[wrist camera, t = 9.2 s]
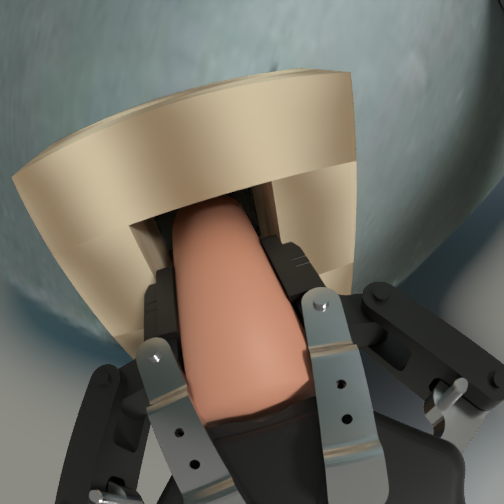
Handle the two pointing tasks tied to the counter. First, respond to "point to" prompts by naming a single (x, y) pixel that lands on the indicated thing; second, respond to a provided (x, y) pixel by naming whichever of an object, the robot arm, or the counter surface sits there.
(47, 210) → the socket block
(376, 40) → the counter surface
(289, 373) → the peg
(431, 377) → the robot arm
